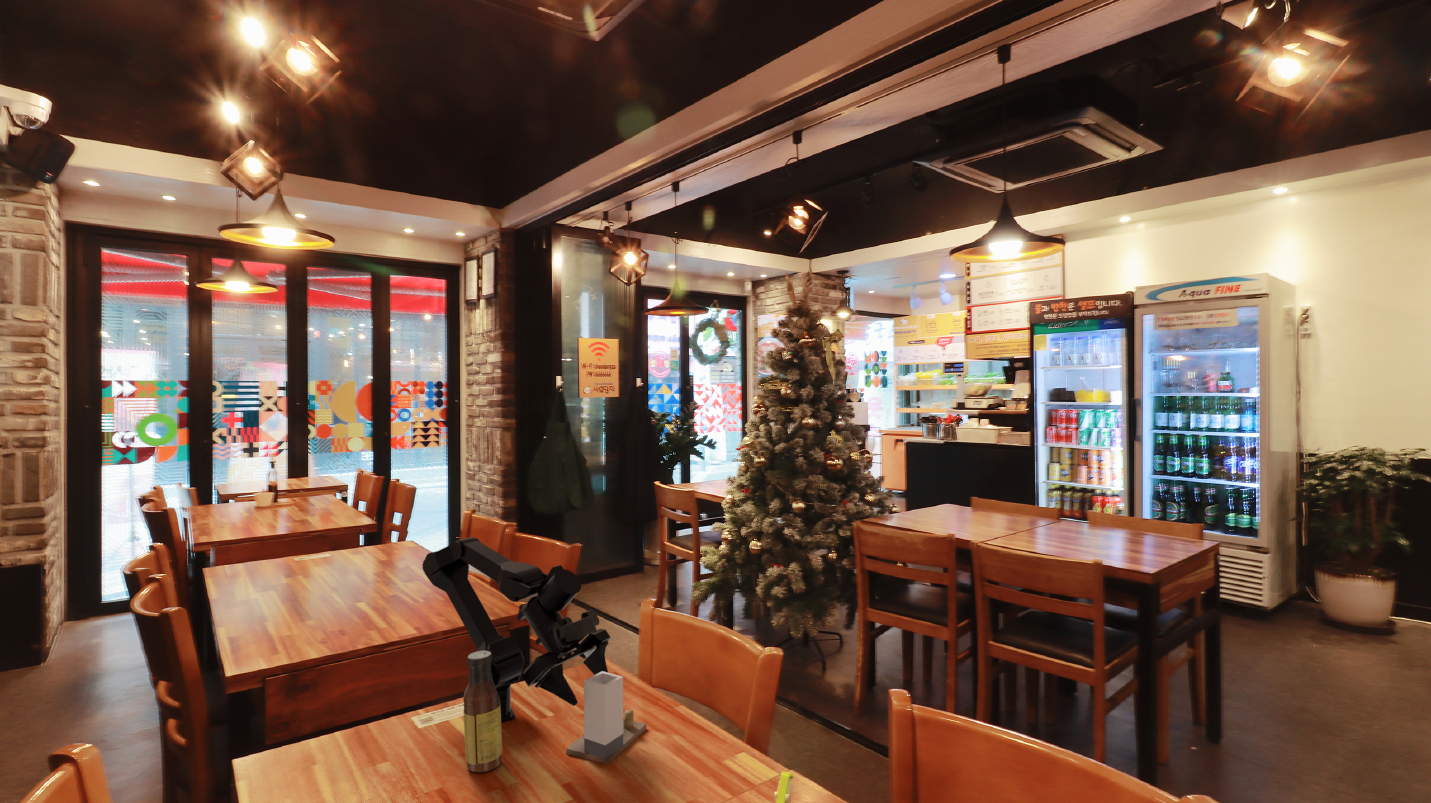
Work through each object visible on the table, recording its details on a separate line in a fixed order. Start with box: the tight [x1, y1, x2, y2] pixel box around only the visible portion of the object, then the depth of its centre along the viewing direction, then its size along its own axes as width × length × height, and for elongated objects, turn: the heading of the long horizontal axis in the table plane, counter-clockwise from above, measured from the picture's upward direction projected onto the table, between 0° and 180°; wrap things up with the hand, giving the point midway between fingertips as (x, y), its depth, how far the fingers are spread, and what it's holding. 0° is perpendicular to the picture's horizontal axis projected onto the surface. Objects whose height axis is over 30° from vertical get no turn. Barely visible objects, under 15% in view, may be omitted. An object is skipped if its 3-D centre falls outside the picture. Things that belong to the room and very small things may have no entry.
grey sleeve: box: [583, 671, 624, 759], centre depth 126 cm, size 5×5×13 cm
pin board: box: [565, 709, 647, 765], centre depth 131 cm, size 9×14×4 cm, turn 157°
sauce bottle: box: [462, 650, 503, 774], centre depth 123 cm, size 6×6×20 cm
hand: (592, 694), depth 128 cm, fingers open, 9 cm apart
